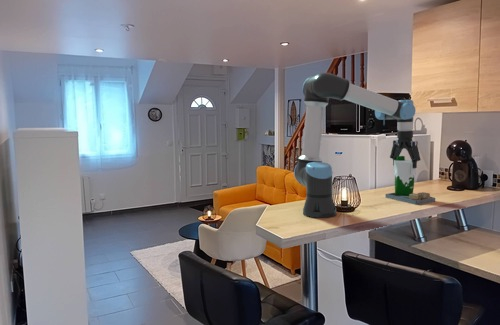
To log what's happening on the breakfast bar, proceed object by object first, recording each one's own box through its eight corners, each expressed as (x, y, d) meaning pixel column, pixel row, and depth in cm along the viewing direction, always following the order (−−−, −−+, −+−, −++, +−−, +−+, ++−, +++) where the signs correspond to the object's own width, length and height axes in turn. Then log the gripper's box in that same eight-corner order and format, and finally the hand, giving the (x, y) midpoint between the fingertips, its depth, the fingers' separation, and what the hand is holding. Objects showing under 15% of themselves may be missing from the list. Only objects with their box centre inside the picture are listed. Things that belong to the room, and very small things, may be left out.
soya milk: (397, 192, 204) (398, 155, 202) (415, 193, 199) (416, 156, 196) (392, 195, 197) (393, 157, 195) (410, 197, 192) (411, 157, 189)
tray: (416, 205, 184) (416, 200, 183) (385, 198, 202) (385, 193, 201) (435, 202, 189) (435, 197, 189) (403, 195, 207) (403, 191, 207)
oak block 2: (424, 202, 188) (424, 194, 187) (417, 200, 191) (417, 193, 191) (429, 201, 189) (429, 193, 189) (423, 199, 193) (423, 192, 193)
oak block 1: (416, 203, 186) (417, 195, 185) (409, 202, 189) (409, 194, 188) (420, 202, 188) (420, 194, 188) (412, 201, 191) (413, 193, 191)
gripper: (429, 130, 185) (428, 175, 188) (393, 129, 206) (392, 170, 209) (418, 131, 182) (417, 176, 185) (383, 130, 203) (382, 171, 205)
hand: (404, 173), depth 197 cm, fingers closed on soya milk, 10 cm apart
